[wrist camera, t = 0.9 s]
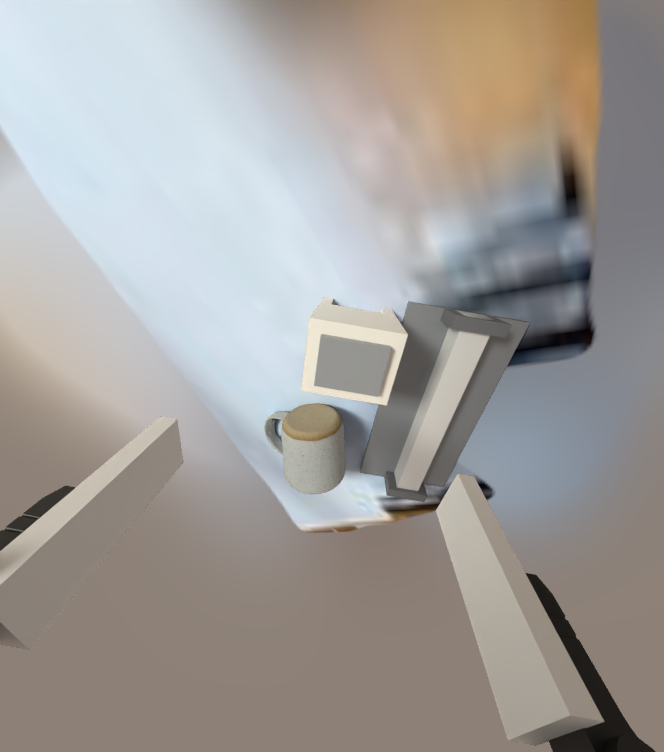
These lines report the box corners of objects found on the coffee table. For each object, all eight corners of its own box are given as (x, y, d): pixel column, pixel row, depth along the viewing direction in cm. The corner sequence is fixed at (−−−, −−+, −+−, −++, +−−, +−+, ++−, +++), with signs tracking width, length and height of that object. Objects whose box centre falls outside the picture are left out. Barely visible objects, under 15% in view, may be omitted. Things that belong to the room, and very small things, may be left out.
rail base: (408, 301, 25) (416, 308, 22) (526, 321, 25) (551, 331, 21) (360, 469, 36) (360, 490, 32) (442, 484, 35) (450, 506, 32)
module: (323, 297, 25) (307, 319, 17) (391, 308, 25) (409, 337, 17) (316, 352, 28) (299, 396, 19) (377, 363, 28) (386, 411, 19)
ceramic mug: (345, 399, 31) (341, 441, 24) (346, 449, 34) (343, 499, 27) (263, 398, 32) (236, 438, 25) (273, 447, 35) (252, 493, 28)
